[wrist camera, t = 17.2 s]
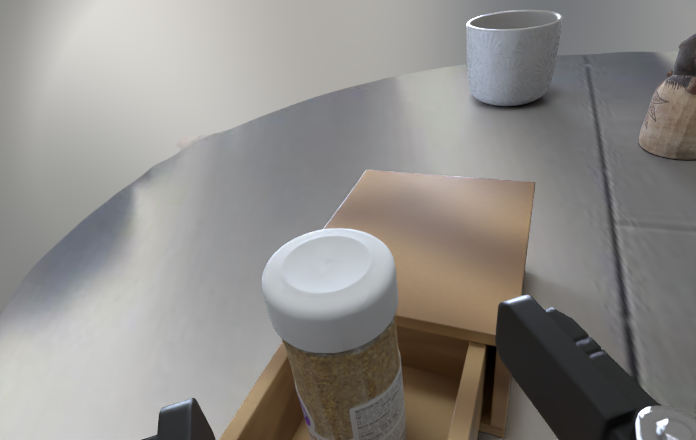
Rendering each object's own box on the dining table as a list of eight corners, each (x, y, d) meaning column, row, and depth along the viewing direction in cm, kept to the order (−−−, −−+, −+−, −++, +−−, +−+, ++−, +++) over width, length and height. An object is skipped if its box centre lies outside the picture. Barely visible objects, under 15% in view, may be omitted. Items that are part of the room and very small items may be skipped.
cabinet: (504, 438, 25) (516, 339, 20) (303, 381, 29) (277, 291, 25) (524, 270, 36) (535, 181, 31) (375, 248, 40) (366, 169, 36)
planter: (482, 118, 62) (486, 35, 56) (454, 91, 72) (454, 19, 66) (569, 103, 62) (582, 19, 56) (528, 79, 72) (535, 6, 66)
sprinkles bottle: (304, 463, 23) (236, 260, 15) (374, 411, 25) (343, 208, 17) (357, 545, 20) (302, 336, 12) (432, 477, 22) (424, 263, 14)
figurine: (711, 135, 50) (751, 20, 43) (722, 163, 45) (769, 38, 38) (636, 130, 53) (663, 22, 46) (638, 157, 48) (669, 40, 41)
